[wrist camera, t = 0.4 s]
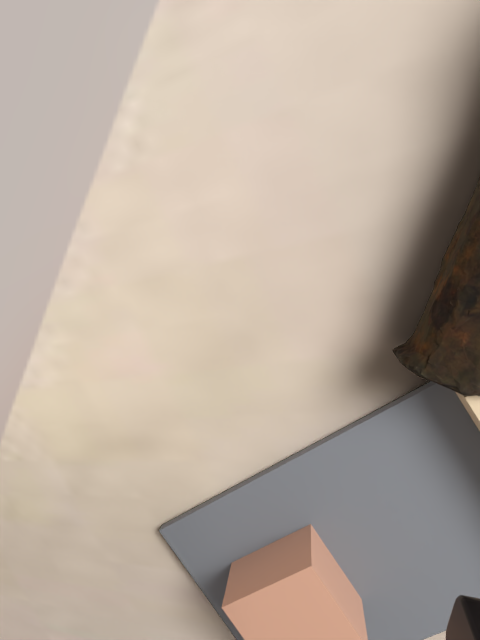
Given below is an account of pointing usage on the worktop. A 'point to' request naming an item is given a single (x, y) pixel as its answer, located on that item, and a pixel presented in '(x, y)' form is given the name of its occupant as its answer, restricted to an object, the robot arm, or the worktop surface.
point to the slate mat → (363, 513)
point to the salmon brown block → (293, 593)
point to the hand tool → (452, 315)
